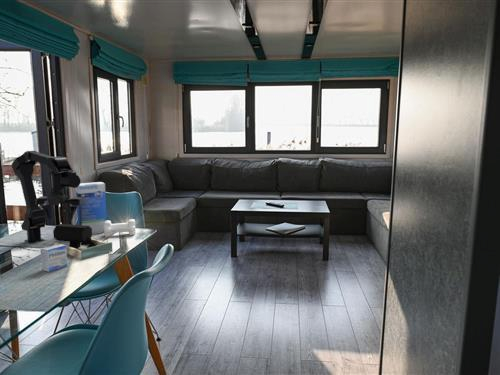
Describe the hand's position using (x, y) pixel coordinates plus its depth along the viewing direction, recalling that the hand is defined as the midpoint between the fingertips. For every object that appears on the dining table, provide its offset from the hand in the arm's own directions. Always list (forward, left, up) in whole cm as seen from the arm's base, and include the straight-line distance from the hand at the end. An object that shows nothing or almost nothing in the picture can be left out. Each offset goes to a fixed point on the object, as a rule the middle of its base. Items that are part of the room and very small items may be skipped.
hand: (60, 219), depth 173 cm
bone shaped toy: (+3, +29, -13) cm, 32 cm away
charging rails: (+10, +4, -13) cm, 17 cm away
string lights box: (-13, +23, -13) cm, 29 cm away
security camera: (+5, +4, -13) cm, 14 cm away
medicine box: (+23, -15, -13) cm, 31 cm away
